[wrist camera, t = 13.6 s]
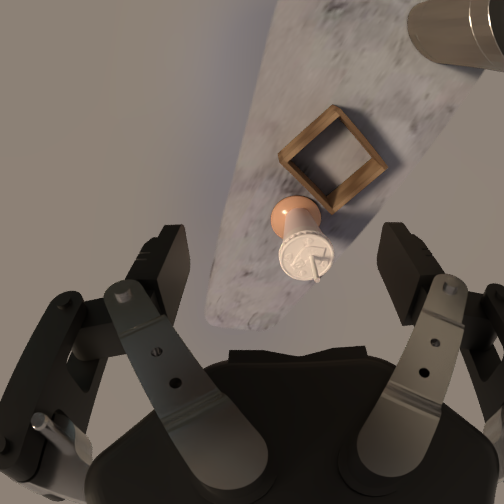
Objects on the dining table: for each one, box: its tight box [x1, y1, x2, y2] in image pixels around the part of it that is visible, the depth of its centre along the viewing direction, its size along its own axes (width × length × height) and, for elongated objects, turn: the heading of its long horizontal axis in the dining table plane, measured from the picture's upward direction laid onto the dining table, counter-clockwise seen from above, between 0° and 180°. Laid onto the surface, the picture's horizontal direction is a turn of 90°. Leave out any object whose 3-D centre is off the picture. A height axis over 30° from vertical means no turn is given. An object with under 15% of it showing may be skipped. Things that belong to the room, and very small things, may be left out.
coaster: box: [271, 195, 321, 239], centre depth 44 cm, size 7×7×1 cm
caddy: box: [278, 105, 388, 215], centre depth 37 cm, size 10×10×4 cm
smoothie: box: [279, 208, 334, 282], centre depth 38 cm, size 6×6×14 cm
